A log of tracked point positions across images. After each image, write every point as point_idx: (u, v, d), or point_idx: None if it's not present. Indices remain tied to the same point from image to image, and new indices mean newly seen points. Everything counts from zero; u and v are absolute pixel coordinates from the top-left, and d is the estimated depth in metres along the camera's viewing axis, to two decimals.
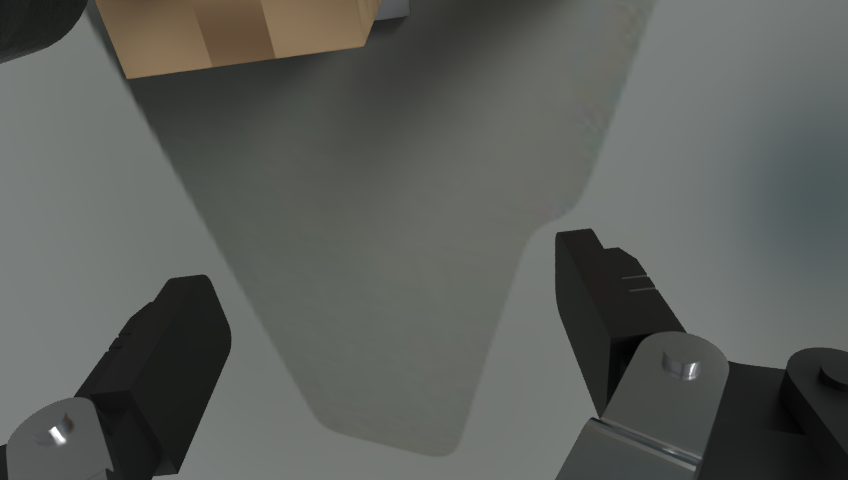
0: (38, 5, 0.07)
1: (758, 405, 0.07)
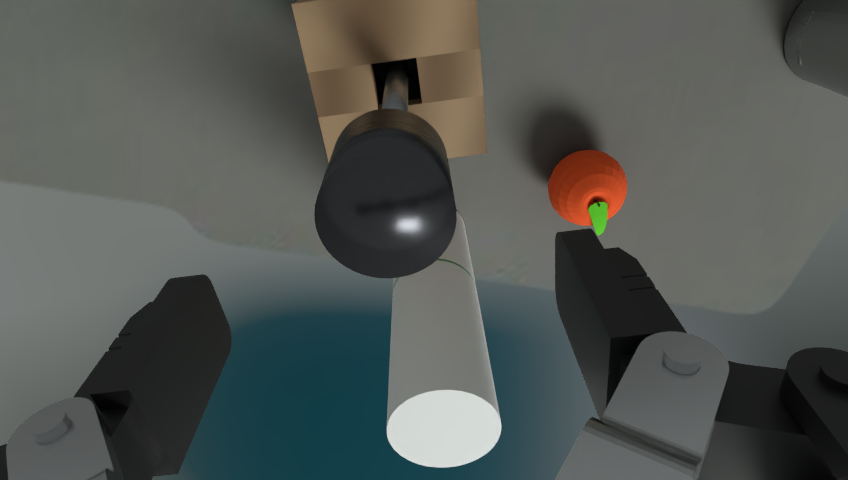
0: None
1: (758, 405, 0.07)
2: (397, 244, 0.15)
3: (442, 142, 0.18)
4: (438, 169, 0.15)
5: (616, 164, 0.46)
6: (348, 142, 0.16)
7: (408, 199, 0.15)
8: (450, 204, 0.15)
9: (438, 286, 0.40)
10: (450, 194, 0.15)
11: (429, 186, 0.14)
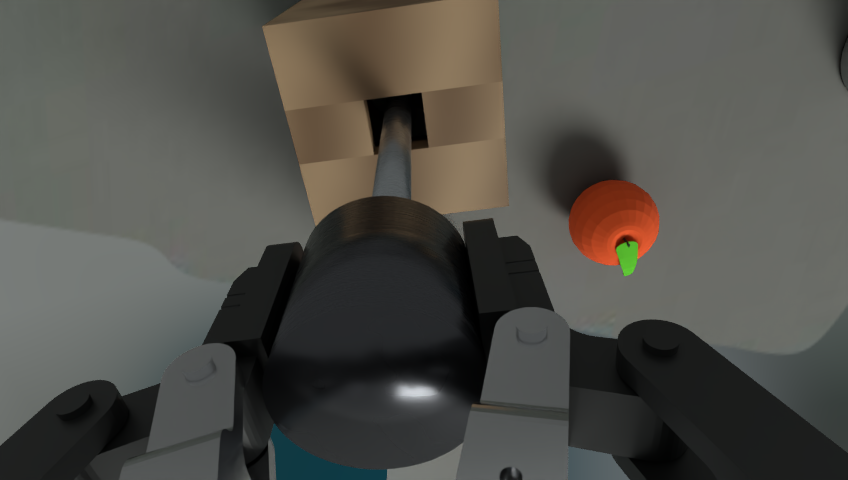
0: None
1: (595, 371, 0.08)
2: (395, 427, 0.10)
3: (462, 242, 0.12)
4: (462, 320, 0.09)
5: (648, 197, 0.41)
6: (319, 264, 0.10)
7: (414, 370, 0.09)
8: (481, 376, 0.09)
9: None
10: (482, 363, 0.09)
11: (448, 352, 0.09)
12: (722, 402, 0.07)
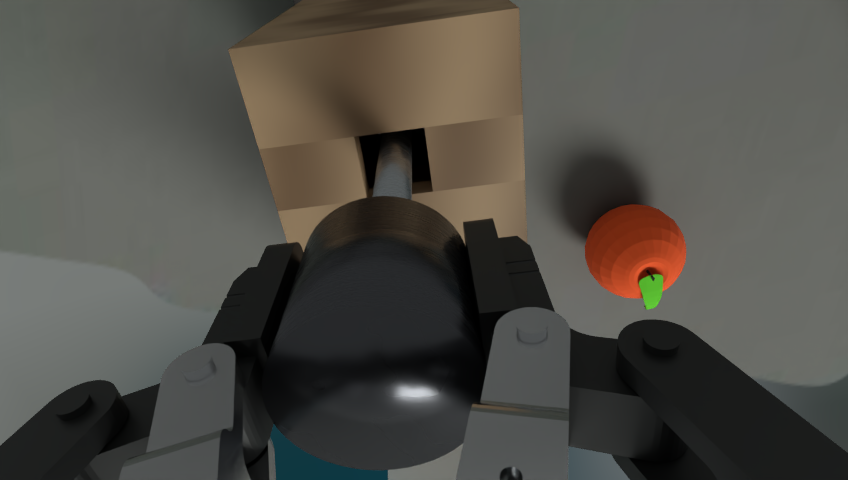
0: None
1: (595, 370, 0.08)
2: (395, 427, 0.10)
3: (462, 242, 0.12)
4: (462, 321, 0.09)
5: (674, 225, 0.37)
6: (319, 265, 0.10)
7: (413, 370, 0.09)
8: (481, 377, 0.09)
9: None
10: (481, 363, 0.09)
11: (447, 353, 0.09)
12: (722, 402, 0.07)
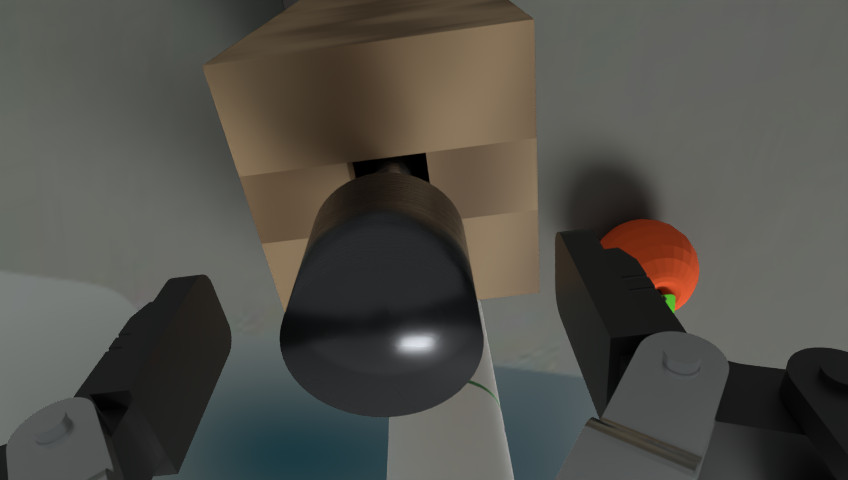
0: None
1: (758, 405, 0.07)
2: (399, 376, 0.11)
3: (459, 215, 0.13)
4: (458, 277, 0.10)
5: (686, 242, 0.35)
6: (330, 230, 0.11)
7: (415, 321, 0.10)
8: (475, 327, 0.10)
9: (453, 430, 0.28)
10: (476, 315, 0.10)
11: (445, 305, 0.10)
12: None
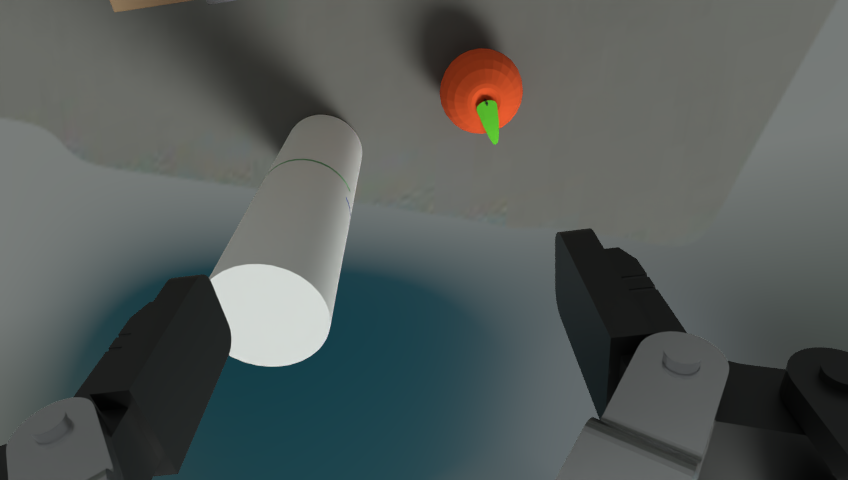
0: None
1: (758, 405, 0.07)
2: None
3: None
4: None
5: (507, 61, 0.42)
6: None
7: None
8: None
9: (292, 180, 0.36)
10: None
11: None
12: None
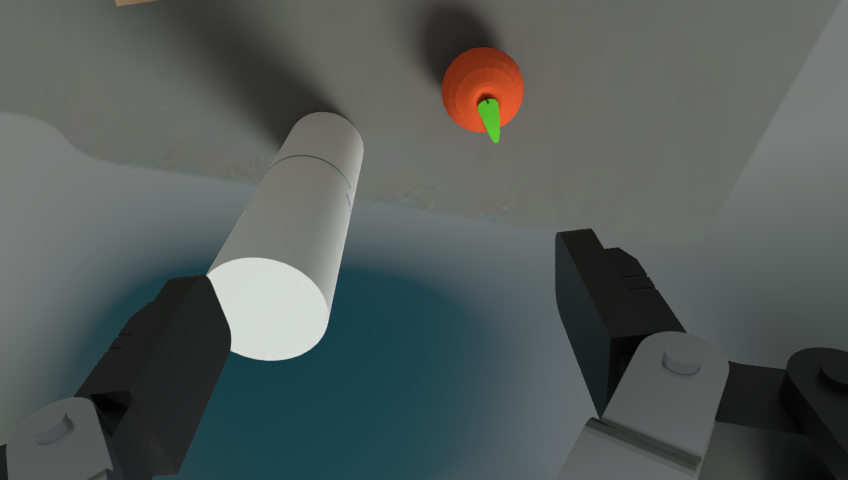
0: None
1: (758, 405, 0.07)
2: None
3: None
4: None
5: (509, 60, 0.42)
6: None
7: None
8: None
9: (293, 176, 0.36)
10: None
11: None
12: None
